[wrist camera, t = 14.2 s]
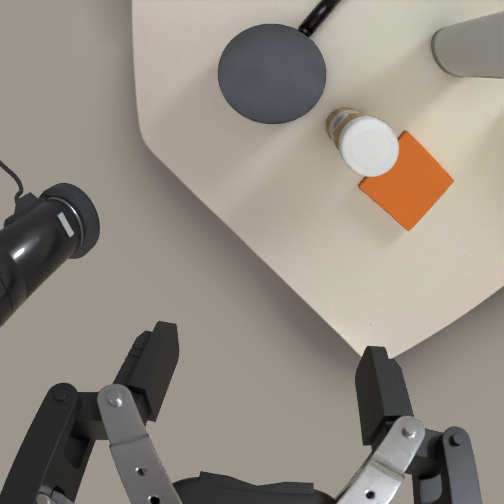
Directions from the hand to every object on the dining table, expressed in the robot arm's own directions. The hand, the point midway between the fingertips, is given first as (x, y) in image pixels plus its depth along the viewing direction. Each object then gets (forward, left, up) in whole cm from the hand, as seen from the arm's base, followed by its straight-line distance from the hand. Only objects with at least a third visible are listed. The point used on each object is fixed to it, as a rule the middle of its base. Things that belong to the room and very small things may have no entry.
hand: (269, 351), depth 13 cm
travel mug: (+6, +26, -28) cm, 38 cm away
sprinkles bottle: (+2, +9, -28) cm, 29 cm away
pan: (-8, +13, -27) cm, 31 cm away
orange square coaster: (+12, +9, -27) cm, 31 cm away
